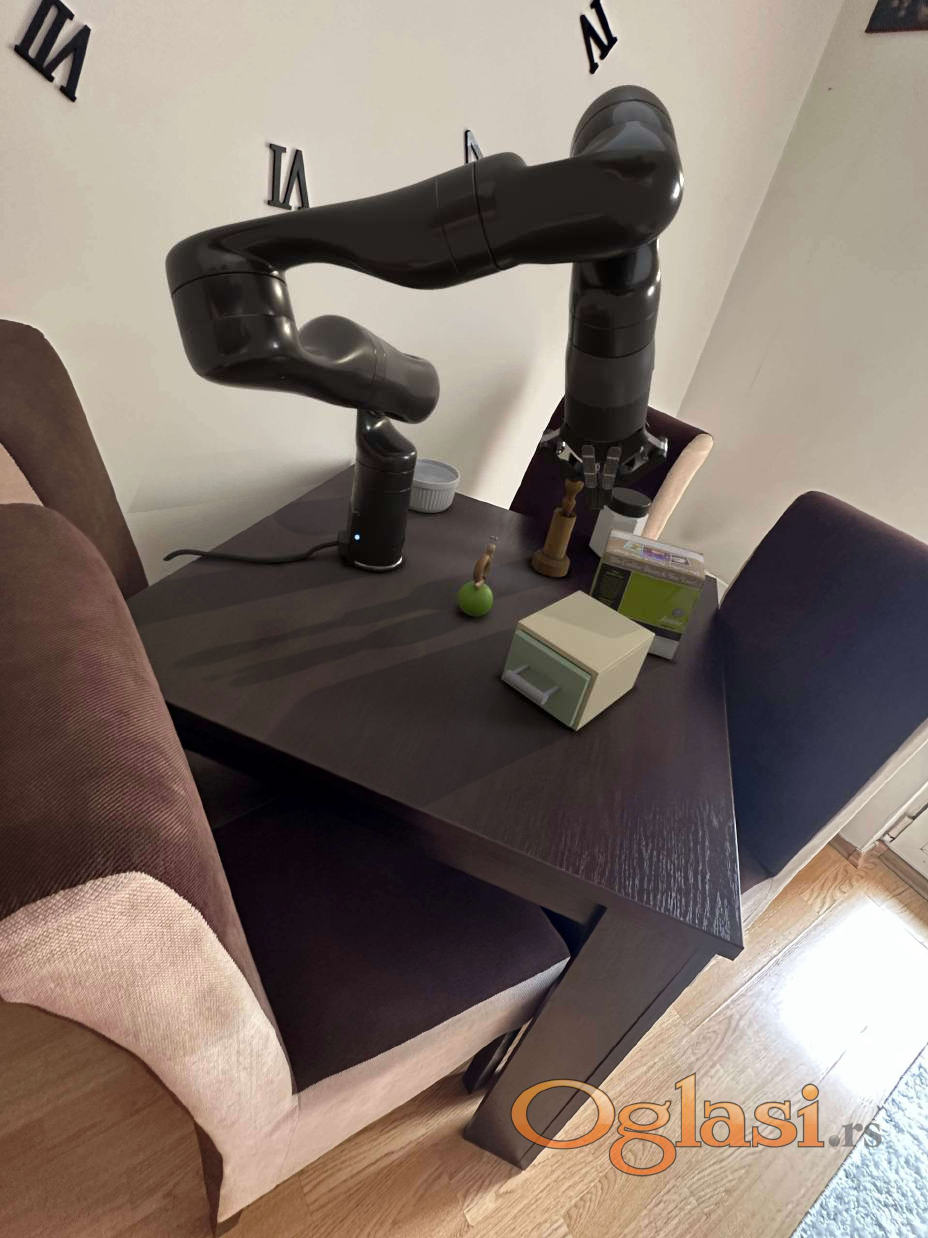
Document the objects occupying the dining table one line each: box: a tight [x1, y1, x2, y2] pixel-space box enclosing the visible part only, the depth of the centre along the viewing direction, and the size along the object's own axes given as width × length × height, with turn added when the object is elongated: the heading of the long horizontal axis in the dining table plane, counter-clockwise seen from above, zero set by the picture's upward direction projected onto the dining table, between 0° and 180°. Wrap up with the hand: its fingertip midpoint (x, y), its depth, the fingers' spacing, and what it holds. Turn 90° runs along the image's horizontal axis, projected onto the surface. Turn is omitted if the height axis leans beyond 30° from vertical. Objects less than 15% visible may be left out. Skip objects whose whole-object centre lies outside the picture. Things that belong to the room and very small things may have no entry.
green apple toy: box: [457, 535, 499, 617], centre depth 98 cm, size 5×6×12 cm
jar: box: [588, 487, 652, 558], centre depth 126 cm, size 9×8×12 cm
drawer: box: [501, 630, 592, 728], centre depth 85 cm, size 18×11×8 cm, turn 137°
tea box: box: [588, 528, 707, 660], centre depth 101 cm, size 15×10×15 cm, turn 73°
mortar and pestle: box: [531, 478, 585, 578], centre depth 113 cm, size 7×6×18 cm
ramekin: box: [409, 456, 461, 514], centre depth 130 cm, size 13×13×7 cm
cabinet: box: [515, 590, 655, 732], centre depth 88 cm, size 15×13×10 cm
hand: (598, 503), depth 72 cm, fingers closed
